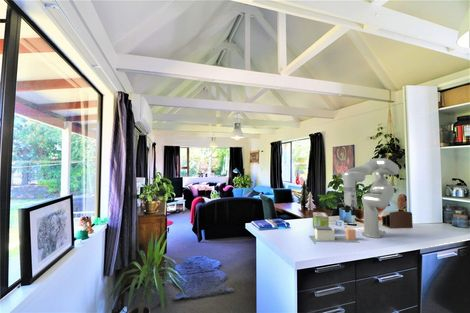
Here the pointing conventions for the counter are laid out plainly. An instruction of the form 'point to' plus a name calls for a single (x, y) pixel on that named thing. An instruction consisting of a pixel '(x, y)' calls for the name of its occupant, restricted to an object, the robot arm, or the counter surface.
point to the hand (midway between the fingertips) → (350, 213)
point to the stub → (350, 234)
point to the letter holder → (398, 220)
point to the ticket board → (339, 239)
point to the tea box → (320, 219)
